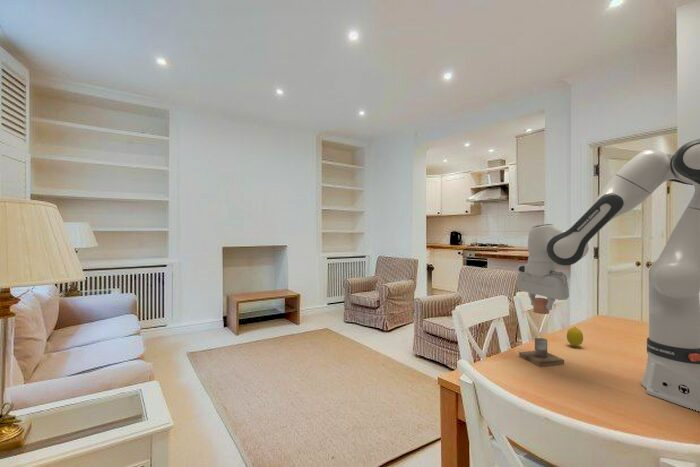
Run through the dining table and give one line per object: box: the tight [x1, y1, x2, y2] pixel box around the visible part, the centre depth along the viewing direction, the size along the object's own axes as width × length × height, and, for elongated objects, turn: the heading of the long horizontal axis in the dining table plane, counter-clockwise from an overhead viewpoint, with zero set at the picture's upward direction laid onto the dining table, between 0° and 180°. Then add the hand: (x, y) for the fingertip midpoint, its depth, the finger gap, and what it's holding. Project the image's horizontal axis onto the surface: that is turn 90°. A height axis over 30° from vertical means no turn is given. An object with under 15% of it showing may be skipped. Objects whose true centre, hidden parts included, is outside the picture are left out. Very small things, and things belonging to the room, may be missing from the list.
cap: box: [532, 297, 550, 315], centre depth 122 cm, size 5×5×5 cm
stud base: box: [518, 337, 565, 368], centre depth 122 cm, size 10×10×8 cm
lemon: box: [566, 326, 584, 348], centre depth 136 cm, size 6×6×8 cm
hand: (541, 307), depth 122 cm, fingers closed on cap, 5 cm apart
